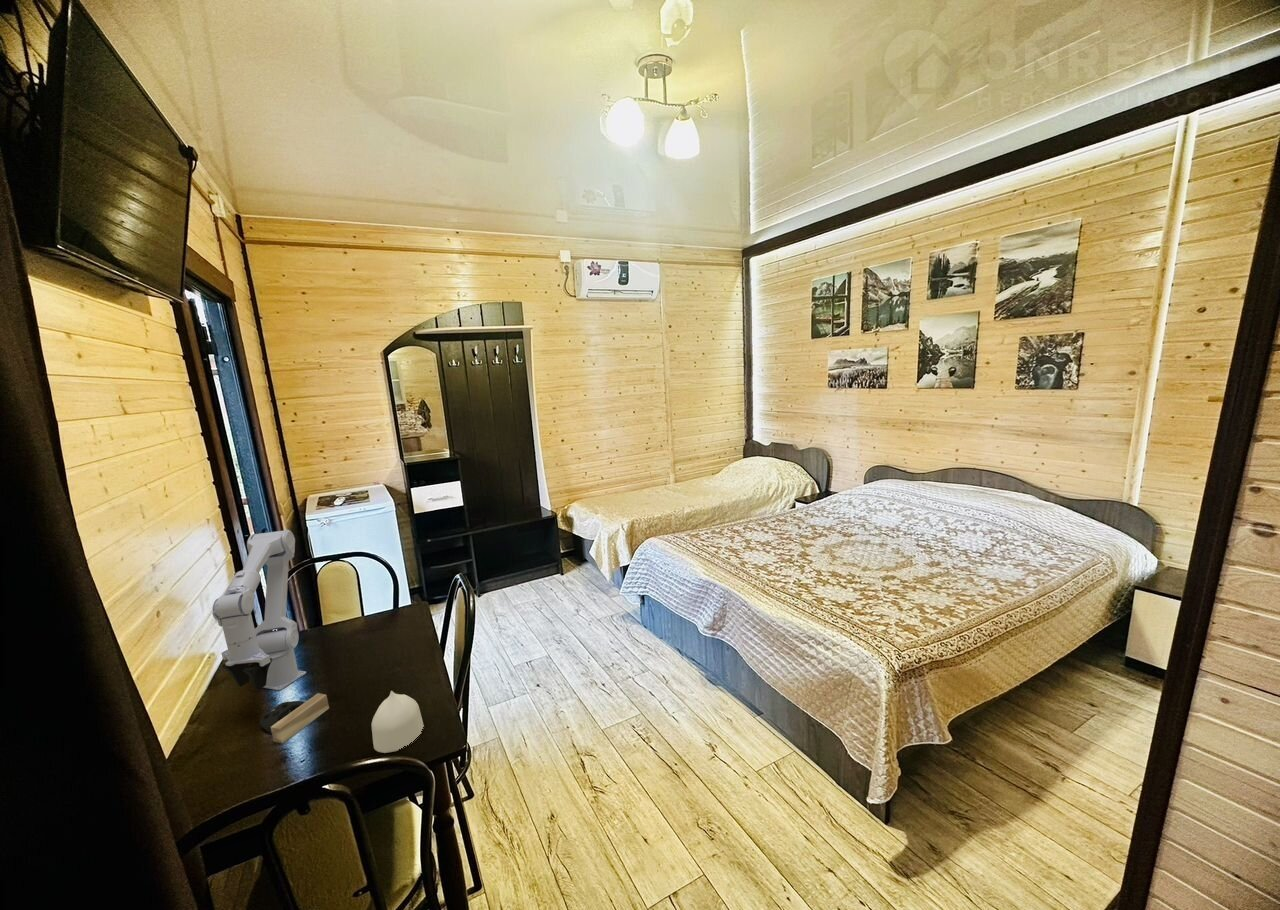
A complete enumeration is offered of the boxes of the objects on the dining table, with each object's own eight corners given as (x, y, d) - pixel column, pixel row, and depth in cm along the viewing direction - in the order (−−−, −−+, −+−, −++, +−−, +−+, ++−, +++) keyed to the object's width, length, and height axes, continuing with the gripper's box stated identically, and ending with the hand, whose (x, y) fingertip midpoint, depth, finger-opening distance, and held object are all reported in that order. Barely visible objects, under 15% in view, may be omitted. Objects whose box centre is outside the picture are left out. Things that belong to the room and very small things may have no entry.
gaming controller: (275, 732, 112) (258, 716, 112) (266, 744, 113) (249, 728, 114) (310, 704, 121) (294, 689, 121) (301, 716, 123) (285, 700, 123)
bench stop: (273, 741, 110) (270, 727, 109) (320, 706, 121) (317, 693, 121) (282, 743, 109) (279, 729, 108) (329, 708, 120) (326, 694, 120)
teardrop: (376, 726, 113) (368, 683, 111) (425, 711, 117) (418, 670, 115) (369, 760, 103) (360, 713, 101) (422, 742, 107) (415, 697, 105)
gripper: (203, 644, 114) (215, 692, 117) (243, 651, 110) (255, 700, 112) (234, 628, 121) (245, 674, 123) (274, 634, 117) (284, 682, 119)
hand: (252, 685), depth 118 cm, fingers open, 6 cm apart
